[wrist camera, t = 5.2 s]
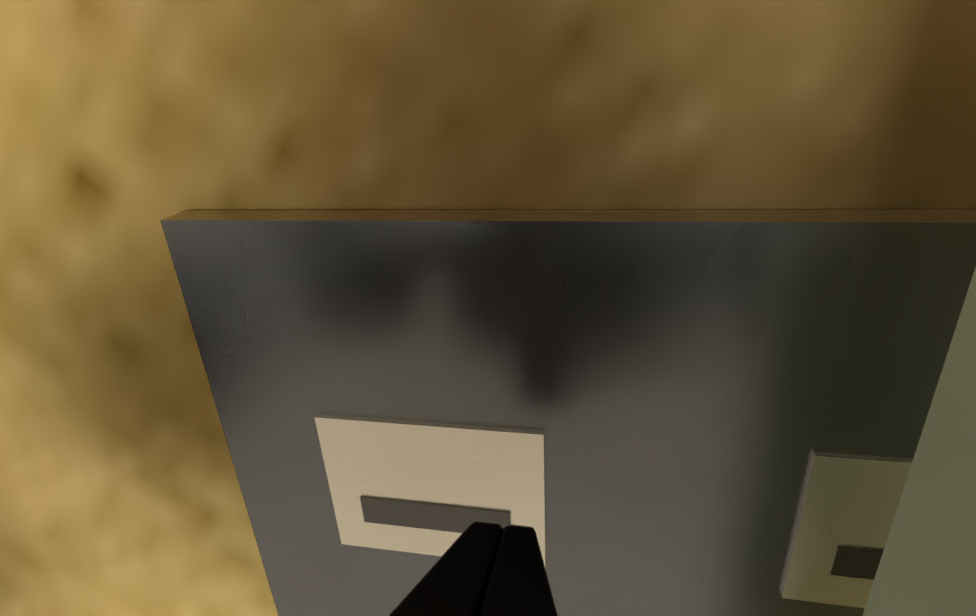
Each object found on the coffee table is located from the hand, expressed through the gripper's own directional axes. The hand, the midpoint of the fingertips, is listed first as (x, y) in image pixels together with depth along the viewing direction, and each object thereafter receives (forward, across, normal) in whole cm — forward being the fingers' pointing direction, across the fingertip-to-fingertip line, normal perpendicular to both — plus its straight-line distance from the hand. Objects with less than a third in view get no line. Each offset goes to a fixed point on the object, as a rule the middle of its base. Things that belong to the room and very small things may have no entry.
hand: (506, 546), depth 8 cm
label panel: (+3, -2, +4) cm, 5 cm away
